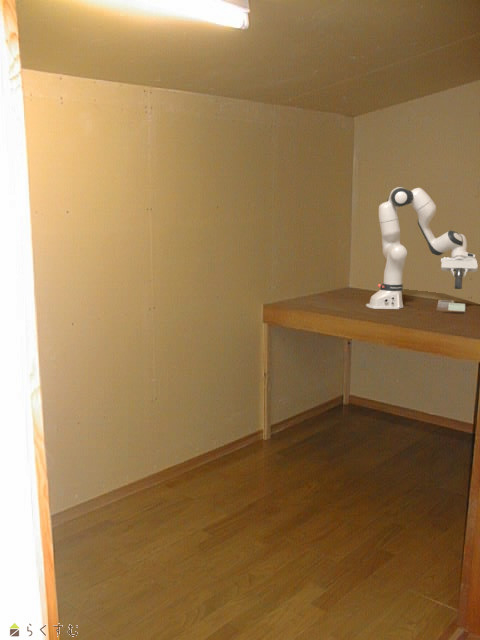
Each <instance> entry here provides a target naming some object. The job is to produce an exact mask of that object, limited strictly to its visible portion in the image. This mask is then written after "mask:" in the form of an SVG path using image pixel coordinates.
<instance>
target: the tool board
mask: <svg viewBox="0 0 480 640" xmlns="http://www.w3.org/2000/svg"><path fill="white" fill-rule="evenodd" d="M436 311H448V312H443V314H456V315H466V313H467V312H466V311H467V310H466V308H465V311H453V310H448V307H438V303H437V304H436Z"/></svg>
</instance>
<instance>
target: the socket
mask: <svg viewBox="0 0 480 640" xmlns="http://www.w3.org/2000/svg"><path fill="white" fill-rule="evenodd" d="M449 303H455V300H451V299H450V300H447V299H438V301H437V304H438V307H448V306H449Z"/></svg>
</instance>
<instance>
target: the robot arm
mask: <svg viewBox="0 0 480 640" xmlns="http://www.w3.org/2000/svg"><path fill="white" fill-rule="evenodd" d="M386 200H387V201H384V202H382V203H380V204H379V206H378V222H379V228H380V232H381V245H382V255H383V257H384V258H385V259H386V263H385V267H384V271H383V283H382V284H381V283H378V284H377V287H378V288H380V289H379V290H378V291H377V292H375V293H374V294H373V295H371V297H370V298H369V299H370V300H369V303H366V304H365V307H367V308H369V309H374V310H400V309H402V308H404V304H403V289H404V287H403V286H404V284H403V275H404V268H405V264H406V258H407V256H408V251H407V248H406V247H405V245H403V244H401V228H400V222H399V216H398V209H399V208H400V207H405V206H407V205H410V206H411V207H412V208H413V209H414V211H415V212H416V214H417V224H418V227H419V229H420V231H421V233H422V235H423V236H424V239H425V241H426V244H427V245H428V248H429V251H430V253H431V254H432V255H435V256H442V255H443V254H444V253H446V252H448V251H449V250H451V252H450V253H451V254H450V255H451V256H448V257H447V256H444V257H441V258H440V263H441V265H440V270H441V271H442V272H450V274H452V277H455V276H456V268H463V278H465V277H466V275H467V274H468V273H475V272H478V269H479V265H478V261H477V259H476V254H474V253H470V252H467V249H468V243H467V238H466V236H465V234H462V233H458V232H456V231H454V230H449V231H447V232H445V233H443V234H441V235H440V236H438V237H435V235H434V233H433V231H432V229H431V227H430V222H431V221H432V219H433V218H434V216H435V215H436V212H437V205H436V204H435V202H434V201H433V199H432V198H431V197H430V195H429V194H428V193H427V192H426V191H425V190H424V189H423V188H422V187H416V188H413V189H412V190H409V189H406V188H404V187H401V186H399V187H395V188H393V189H392V190H390V193H389V195H388V198H387V199H386Z"/></svg>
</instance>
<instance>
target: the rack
mask: <svg viewBox="0 0 480 640" xmlns="http://www.w3.org/2000/svg"><path fill="white" fill-rule="evenodd" d="M465 309H466V303H460V302H459V303H458V302H457V303H456V302H454V303H449V306H448V310H453V311H452V312H461V311H465Z"/></svg>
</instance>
